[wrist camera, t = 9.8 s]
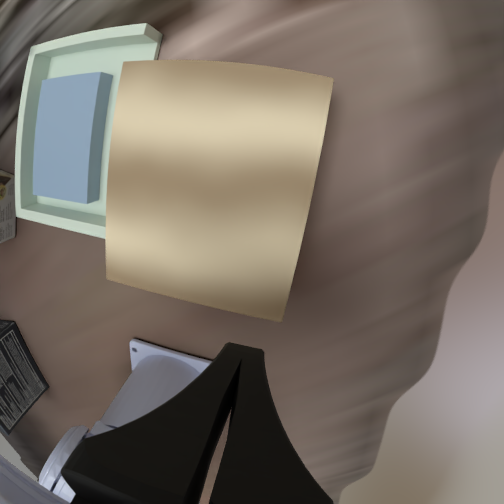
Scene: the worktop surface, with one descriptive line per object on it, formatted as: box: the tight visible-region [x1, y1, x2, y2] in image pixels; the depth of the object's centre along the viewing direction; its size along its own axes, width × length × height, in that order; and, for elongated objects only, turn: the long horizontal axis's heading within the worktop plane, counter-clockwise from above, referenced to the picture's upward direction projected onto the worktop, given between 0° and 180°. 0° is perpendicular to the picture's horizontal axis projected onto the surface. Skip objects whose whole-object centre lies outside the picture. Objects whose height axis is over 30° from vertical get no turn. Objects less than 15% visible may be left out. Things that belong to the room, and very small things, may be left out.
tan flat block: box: [106, 60, 334, 322], centre depth 17 cm, size 13×11×4 cm
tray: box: [15, 23, 163, 239], centre depth 17 cm, size 14×11×2 cm
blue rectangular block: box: [33, 72, 113, 204], centre depth 17 cm, size 9×6×2 cm, turn 170°
